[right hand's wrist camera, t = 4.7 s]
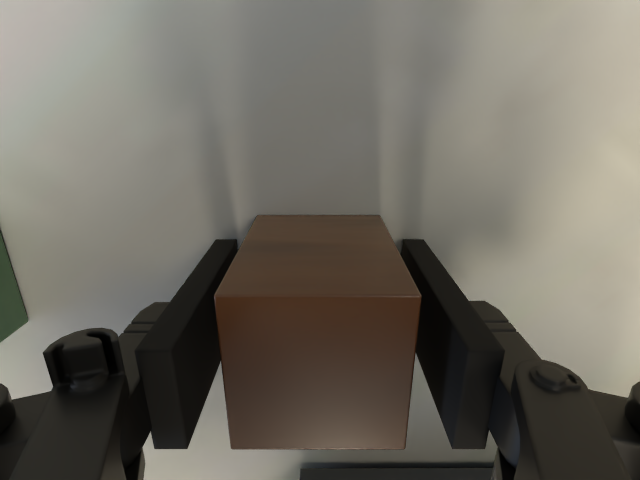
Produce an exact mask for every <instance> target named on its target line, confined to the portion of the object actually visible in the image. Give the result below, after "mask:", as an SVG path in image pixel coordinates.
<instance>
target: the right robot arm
mask: <svg viewBox="0 0 640 480" xmlns="http://www.w3.org/2000/svg"><path fill="white" fill-rule="evenodd" d="M237 252H238V249H237V240H215V242H214V243H213V245H212V246H211V247H210V249H209V250H208V251H207V253H206V254H205V255H204V257H203V258H202V259H201V261H200V262H199V263H198V265H197V266H196V268H195V269H194V270H193V272H192V273H191V274H190V276H189V277H188V278H187V280H186V281H185V282H184V284H183V285H182V287H181V288H180V289H179V291H178V292H177V293H176V295H175V296H174V297H173V299H172V300H171V301H170V302H155V303H153V304H151V305H150V306H148V307H147V308H145V309H143V310H142V311H140V312H139V314H138V315H137V316H136V317H135V318H134V319H133V321H132V322H131V324H129V325H128V327H127V328H126V329H125V330H124V333H122V334H121V335H120V336H119V337H118V335H117V334H116V333H115V332H114V331H113V330H111V329H105V328H91V329H85V330H81V331H77V332H74V333H71V334H69V335H67V336H64V337H62V338H60V339H59V340H57V341H55V342H54V343H52V344H51V345H50V346H49V347H48V348H47V349H46V350H45V351H44V352H43V355H44V358H45V362H46V365H47V368H48V371H49V375H50V378H51V381H52V384H53V388H52V391H50V392H46V393H42V394H37V395H32V396H28V397H23V398H18V399H14V400H12V399H11V396H10V393H9V391H8V388H7V387H5V386H4V385H3V384H0V480H143V478H144V470H145V458H144V453H143V448H142V447H143V445H144V443H145V441H146V439H147V437H148V435H149V433H150V431H151V434H152V439H153V444H154V449H187V448H188V446H189V443H190V441H191V438H192V435H193V433H194V430H195V427H196V425H197V422H198V419H199V417H200V414H201V411H202V409H203V406H204V404H205V401H206V398H207V396H208V393H209V390H210V388H211V385H212V382H213V380H214V377H215V374H216V372H217V369H218V367H219V364H220V361H221V355H220V346H219V338H218V329H217V320H216V311H215V302H214V295H215V293H216V291H217V289H218V287H219V285H220V284H221V282H222V280H223V278H224V276H225V274H226V272H227V271H228V269H229V267H230V265H231V263H232V261H233V259H234V258H235V256H236V254H237ZM402 259H403V261H404V263H405V265H406V267H407V269H408V271H409V273H410V275H411V277H412V279H413V281H414V282H415V284H416V286H417V288H418V290H419V292H420V294H421V305H420V315H419V324H418V333H417V343H416V354H417V357H418V360H419V362H420V365H421V368H422V370H423V373H424V375H425V378H426V381H427V383H428V386H429V389H430V391H431V394H432V397H433V399H434V402H435V405H436V407H437V410H438V412H439V415H440V418H441V420H442V423H443V426H444V428H445V431H446V434H447V436H448V439H449V442H450V444H451V447H452V449H485V447H486V442H487V437H488V432H489V430H490V432H491V434H492V436H493V438H494V440H495V442H496V444H497V446H498V448H497V453H496V457H495V462H494V466H493V471H492V475H491V480H640V382H638V383H636V384H635V385H634V386H632V389H631V392H630V395H629V397H628V398H625V397H620V396H616V395H611V394H606V393H602V392H597V391H593V390H589V389H588V388H587V386H586V385H585V383H584V382H583V381H582V379H581V378H580V377H579V376H577V375H576V374H575V373H573V372H572V371H571V370H569V369H567V368H565V367H563V366H561V365H559V364H556V363H553V362H549V361H546V360H542V359H541V358H540V357H539V356H538V355H537V354H536V352H535V351H534V350H533V349H532V348H531V347H530V345H529V344H528V343H527V342H526V341H525V339H524V338H523V337H522V336H521V335H520V334H519V332H516V329H515V328H514V327H513V325H512V324H511V323H509V322H508V320H507V318H506V317H505V316H504V315H503V314H502V312H501V311H500V310H499V309H497V308H495V307H494V306H492V305H490V304H489V303H487V302H486V301H468V299H467V298H466V297H465V295H464V294H463V293H462V291H461V290H460V288H459V287H458V286H457V284H456V283H455V282H454V280H453V279H452V278H451V276H450V275H449V274H448V272H447V271H446V269H445V268H444V267H443V265H442V264H441V263H440V261H439V260H438V259H437V257H436V256H435V255H434V253H433V252H432V250H431V249H430V248H429V246H428V245H427V244H426V242H425V241H424V240H403V245H402Z"/></svg>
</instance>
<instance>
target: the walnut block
mask: <svg viewBox="0 0 640 480" xmlns="http://www.w3.org/2000/svg"><path fill="white" fill-rule="evenodd" d="M214 302H215V311H216V320H217V329H218V338H219V346H220V355H221V364H222V373H223V382H224V391H225V400H226V409H227V418H228V427H229V436H230V445H231V449H405V445H406V436H407V426H408V417H409V408H410V398H411V389H412V380H413V371H414V361H415V352H416V343H417V333H418V324H419V315H420V305H421V294H420V292H419V290H418V288H417V286H416V284H415V282H414V281H413V279H412V277H411V275H410V273H409V271H408V269H407V267H406V265H405V263H404V261H403V259H402V257H401V255H400V253H399V251H398V249H397V247H396V246H395V244H394V242H393V240H392V238H391V236H390V234H389V232H388V230H387V228H386V226H385V224H384V222H383V220H382V218H381V216H380V215H258V216H257V217H256V219H255V220H254V222H253V224H252V226H251V228H250V230H249V232H248V233H247V235H246V237H245V239H244V241H243V243H242V245H241V246H240V248H239V250H238V252H237V254H236V256H235V258H234V259H233V261H232V263H231V265H230V267H229V269H228V271H227V272H226V274H225V276H224V278H223V280H222V282H221V284H220V285H219V287H218V289H217V291H216V293H215V295H214Z"/></svg>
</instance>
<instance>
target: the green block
mask: <svg viewBox="0 0 640 480" xmlns="http://www.w3.org/2000/svg"><path fill="white" fill-rule="evenodd" d="M27 322H28V318H27V315H26V312H25V308H24V305H23V302H22V299H21V296H20V293H19V289H18V286H17V283H16V280H15V277H14V274H13V270H12V267H11V264H10V261H9V258H8V255H7V251H6V248H5V245H4V242H3V239H2V235H1V232H0V342H2V341H3V340H4V339H6V338H7V337H8V336H9V335H11V334H12V333H13V332H15V331H16V330H17V329H19V328H20V327H21V326H23V325H24V324H25V323H27Z"/></svg>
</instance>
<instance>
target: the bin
mask: <svg viewBox="0 0 640 480" xmlns="http://www.w3.org/2000/svg"><path fill="white" fill-rule="evenodd" d="M492 471H493V468H301V469H300V480H491V475H492Z"/></svg>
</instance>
